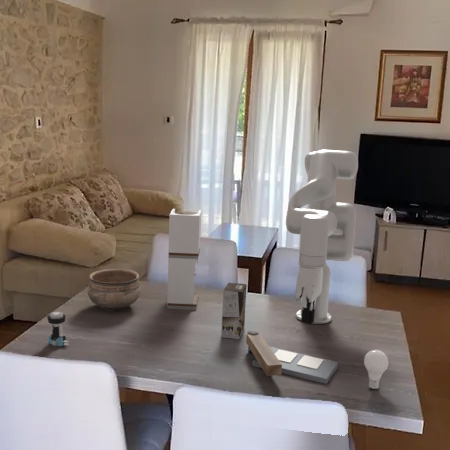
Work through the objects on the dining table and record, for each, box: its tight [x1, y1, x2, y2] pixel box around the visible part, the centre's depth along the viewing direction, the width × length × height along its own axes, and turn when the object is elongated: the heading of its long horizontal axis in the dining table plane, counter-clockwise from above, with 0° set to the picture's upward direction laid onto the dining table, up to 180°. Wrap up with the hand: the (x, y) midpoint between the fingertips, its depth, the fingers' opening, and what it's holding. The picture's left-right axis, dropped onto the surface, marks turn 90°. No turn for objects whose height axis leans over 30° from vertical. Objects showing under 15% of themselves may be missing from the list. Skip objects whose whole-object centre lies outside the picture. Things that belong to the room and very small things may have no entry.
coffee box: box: [220, 282, 247, 340], centre depth 188 cm, size 9×6×16 cm
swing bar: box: [245, 330, 282, 377], centre depth 166 cm, size 4×24×3 cm, turn 13°
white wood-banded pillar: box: [166, 208, 202, 311], centre depth 212 cm, size 11×11×35 cm
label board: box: [252, 346, 339, 385], centre depth 168 cm, size 12×22×2 cm, turn 65°
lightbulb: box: [363, 349, 389, 390], centre depth 155 cm, size 6×6×11 cm
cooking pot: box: [87, 268, 142, 312], centre depth 207 cm, size 25×19×12 cm
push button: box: [46, 310, 70, 347], centre depth 175 cm, size 7×5×10 cm
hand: (307, 322), depth 162 cm, fingers closed
